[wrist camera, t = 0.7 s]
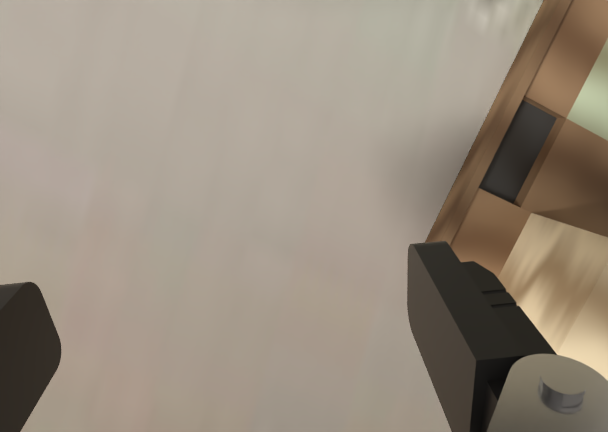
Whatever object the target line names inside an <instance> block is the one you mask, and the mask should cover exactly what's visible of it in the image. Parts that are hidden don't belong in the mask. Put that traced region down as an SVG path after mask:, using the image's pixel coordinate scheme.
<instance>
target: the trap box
mask: <svg viewBox="0 0 608 432" xmlns="http://www.w3.org/2000/svg"><path fill="white" fill-rule="evenodd" d="M531 213H534V214H537V215H540V216H543V217H546V218H549V219H552V220H555V221H558V222H562V223H565V224H568V225H571V226H574V227H577V228H580V229H583V230H586V231H589V232H593V233H596V234H599V235H602V236H605V237H608V1H607V0H544V1H543V3H542V5H541V7H540V9H539V11H538V13H537V15H536V17H535V19H534V21H533V23H532V25H531V27H530V29H529V31H528V33H527V35H526V37H525V40H524V42H523V44H522V46H521V48H520V50H519V52H518V54H517V56H516V58H515V60H514V62H513V64H512V66H511V68H510V70H509V72H508V74H507V76H506V78H505V80H504V82H503V84H502V86H501V88H500V91H499V93H498V95H497V97H496V99H495V101H494V103H493V105H492V107H491V109H490V111H489V113H488V115H487V117H486V119H485V121H484V123H483V125H482V127H481V129H480V131H479V133H478V135H477V137H476V139H475V142H474V144H473V146H472V148H471V150H470V152H469V154H468V156H467V158H466V160H465V162H464V164H463V166H462V168H461V170H460V172H459V174H458V176H457V178H456V180H455V182H454V184H453V186H452V188H451V190H450V193H449V195H448V197H447V199H446V201H445V203H444V205H443V207H442V209H441V211H440V213H439V215H438V217H437V219H436V221H435V223H434V225H433V227H432V229H431V231H430V233H429V235H428V237H427V239H426V241H425V243H427V242H437V241H446V242H447V243H448V244H449V246H450V247H451V248H452V250H453V251H454V253H455V254H456V256H457V257H458V259H459V260H460V262H469V261H474V262H476V263H478V264H479V265H481V266H483V267H484V268H486V269H488V270H489V271H491V272H493V273H494V274H495V275H496V277H497V278H498V276H499V274H500V273H501V271H502V269H503V267H504V265H505V263H506V261H507V259H508V257H509V255H510V253H511V251H512V249H513V247H514V246H515V244H516V242H517V240H518V238H519V236H520V234H521V232H522V230H523V228H524V226H525V224H526V222H527V220H528V218H529V217H530V215H531Z"/></svg>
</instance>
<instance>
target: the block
mask: <svg viewBox="0 0 608 432" xmlns="http://www.w3.org/2000/svg"><path fill="white" fill-rule="evenodd" d="M498 279H499V281H500V282H501V283H502V284H503V286H504V287H505V288H506V292H509V293H510V295H511V296H512V297H513V299H514V300H515V301H516V304H517V306H520V308H521V309H522V310H523V311H524V313H525V314H526V315H527V316H528V318H529V319H530V320H531V322H532V323H533V324H534V325H535V327H536V328H537V329H538V331H539V332H540V333H541V334H542V336H543V337H544V338H545V340H546V341H547V342H548V343H549V345H550V346H551V347H552V349H553V350H554V351H555V352H556V354H557V355H560V356H564V357H568V358H571V359H574V360H577V361H579V362H581V363H583V364H586V365H587V366H589V367H591V368H592V369H594V370H596V371H597V372H598V373H600V374H601V375H602V376H603V377H604V378H605V379H606V380H607V381H608V237H605V236H602V235H599V234H596V233H593V232H589V231H586V230H583V229H580V228H577V227H574V226H571V225H568V224H565V223H562V222H558V221H555V220H552V219H549V218H546V217H543V216H540V215H537V214H534V213H531V215H530V217H529V218H528V220H527V222H526V224H525V226H524V228H523V230H522V232H521V234H520V236H519V238H518V240H517V242H516V244H515V246H514V247H513V249H512V251H511V253H510V255H509V257H508V259H507V261H506V263H505V265H504V267H503V269H502V271H501V273H500V274H499V276H498Z"/></svg>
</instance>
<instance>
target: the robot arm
mask: <svg viewBox="0 0 608 432" xmlns="http://www.w3.org/2000/svg"><path fill="white" fill-rule="evenodd" d="M407 306H408V316H409V322H410V326H411V330H412V333H413V336H414V338H415V341H416V343H417V346H418V348H419V351H420V353H421V356H422V358H423V361H424V363H425V366H426V368H427V371H428V373H429V376H430V378H431V381H432V383H433V386H434V388H435V391H436V393H437V396H438V398H439V401H440V403H441V406H442V408H443V411H444V413H445V416H446V418H447V421H448V423H449V426H450V428H451V431H452V432H608V381H607V380H606V379H605V378H604V377H603V376H602V375H601V374H600V373H598V372H597V371H596V370H594V369H592V368H591V367H589V366H587V365H586V364H583V363H581V362H579V361H577V360H574V359H571V358H568V357H564V356H560V355H557V354H556V352H555V351H554V350H553V349H552V347H551V346H550V345H549V343H548V342H547V341H546V340H545V338H544V337H543V336H542V334H541V333H540V332H539V331H538V329H537V328H536V327H535V325H534V324H533V323H532V322H531V320H530V319H529V318H528V316H527V315H526V314H525V313H524V311H523V310H522V309H521V308H520V306H517V304H516V301H515V300H514V299H513V297H512V296H511V295H510V293H509V292H506V288H505V287H504V286H503V284H502V283H501V282H500V281H499V279H498V278H497V277H496V275H495V274H494V273H493V272H491V271H489V270H488V269H486V268H484V267H483V266H481V265H479V264H478V263H476V262H474V261H469V262H460V260H459V259H458V257H457V256H456V254H455V253H454V251H453V250H452V248H451V247H450V246H449V244H448V243H447V242H446V241H437V242H427V243H417V244H410V246H409V249H408V293H407ZM60 358H61V343H60V339H59V336H58V333H57V331H56V328H55V326H54V323H53V321H52V318H51V316H50V313H49V311H48V308H47V306H46V303H45V301H44V298H43V296H42V293H41V291H40V289H39V287H38V286H37V285H36V284H34V283H32V282H25V283H15V284H5V285H0V432H20V431H21V429H22V428H23V426H24V424H25V423H26V421H27V419H28V417H29V416H30V414H31V412H32V411H33V409H34V407H35V406H36V404H37V402H38V401H39V399H40V397H41V395H42V394H43V392H44V390H45V389H46V387H47V385H48V384H49V382H50V380H51V378H52V377H53V375H54V373H55V372H56V370H57V368H58V366H59V363H60Z"/></svg>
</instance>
